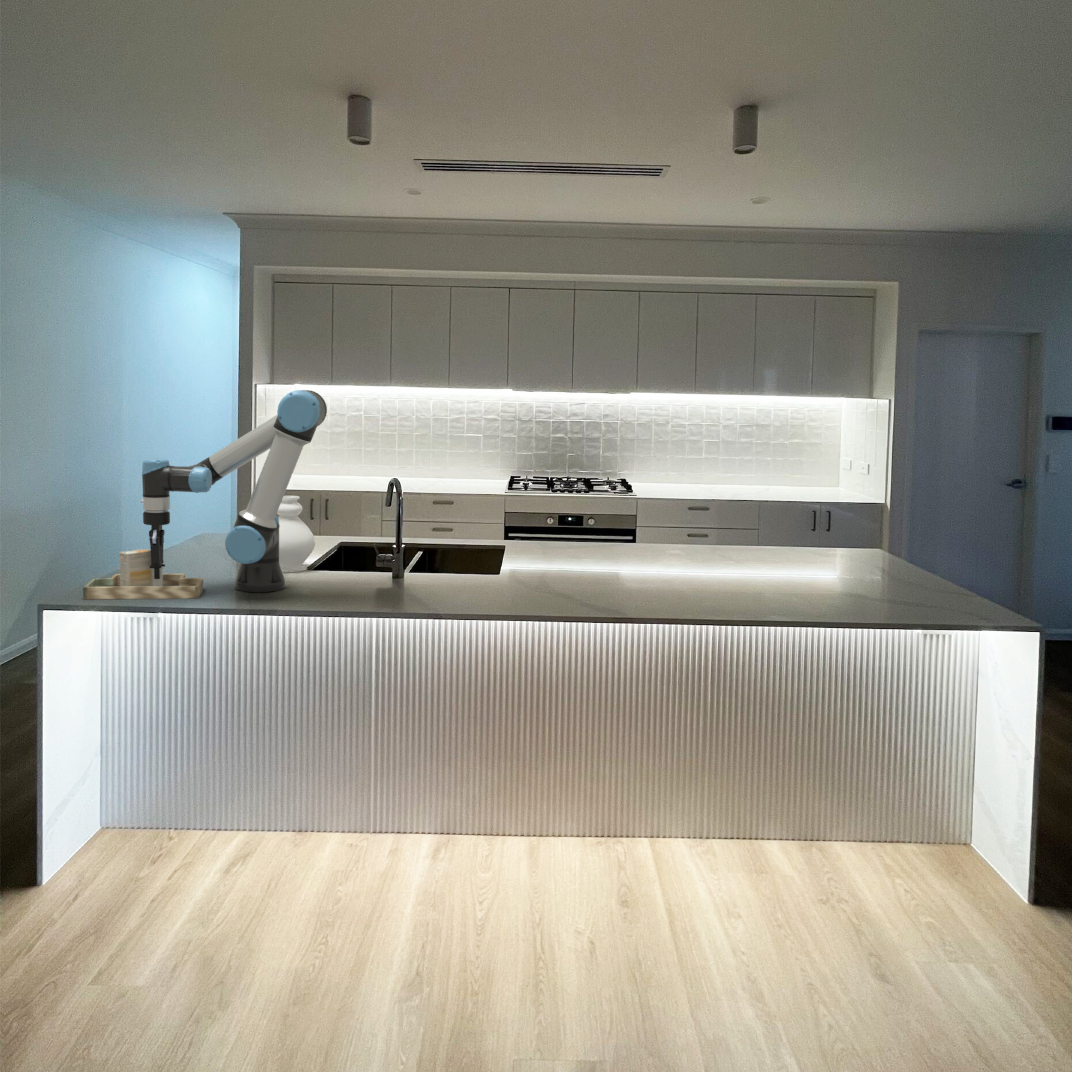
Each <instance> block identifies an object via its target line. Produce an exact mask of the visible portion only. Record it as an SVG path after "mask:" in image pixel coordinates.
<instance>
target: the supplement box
mask: <svg viewBox="0 0 1072 1072" xmlns="http://www.w3.org/2000/svg"><path fill="white" fill-rule="evenodd" d="M118 554H119V555H118V557H119V560H118V561H119V574H120V587H131V586H153V578H152V568H150V566H151V549H147V548H141V549H134V550H133V549H131V550H125V551H119V552H118Z"/></svg>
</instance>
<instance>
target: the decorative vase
mask: <svg viewBox="0 0 1072 1072" xmlns="http://www.w3.org/2000/svg"><path fill="white" fill-rule="evenodd" d="M300 499H301V498H300V496H298V495H284V496H283V499H282V501H281V504H280V506H279V509H278V511H277V514H276V515H278V516H277V517H278V518H279V524H280V527H279V564H280V567H281V570H282V573H300V572H305V571H307V570H308V566H306V565H303V564H304V563H305V562H306V561H307V559H308V558H309V557H310V556H311V554H312V553H313V551H314V550H315V548H316V547H315V546H316V541H315V540H316V539H315V536H314V533H313V532H312V530H311V529H310V527H308V525H307V524H306V523H305V522H304V521H303V520H302V519H301V518H300V517H299V515H300V514H301V513H302V512H303V509H304V508H303V505H301V503H299V502H298V501H299V500H300Z"/></svg>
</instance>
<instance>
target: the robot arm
mask: <svg viewBox="0 0 1072 1072" xmlns="http://www.w3.org/2000/svg"><path fill="white" fill-rule="evenodd" d="M327 413H328V406H327V403H326V401H325V399H324V398H323V396H321V394H320V393H317V392H316V391H314V390H308V389H307V390H306V389H296V390H293V391H290V392H288V393H287V394H286V395H284V396H283V397H282V399H281V400H280V402H279V403H278V406H277V414H276V415H275V416H273V417H271V418H270V419H268V420H266V421H265V422H263V423H262V424H260V425H258V426H257V427H255V428H254V429H252V430H250V431H248V432H247V433H245V434H244V435H242V436H241V437H239V438H237V439H236V440H234V441H232V442H230V443H229V444H228V445H226V446H225V447H223V448H221V449H220V450H217V452H214V453H213V454H211V455H210V456H208V457H206V458H205V459H203V460H202V461H200V462H198V463H196V464H193V465H189V466H177V465H175V466H174V465H171V464H170V460H169V459H166V458H154V457H153V458H146V459H144V460H143V462H142V473H141V480H142V499H141V500H140V503H142V509H143V510H144V511H143V512H142V523H143V524H144V525H147V526H151V527H150V530H148V537H149V546H150V547H149V550H151V566H150V568H152V578H153V586H163V574H164V573H163V568H164V567H166V564H164V563H165V562H164V543H165V532H166V531H165V529H163V526H166V525H169V524H170V523H171V513H170V511H169V510H170V509H171V496H170V492H173V493H174V492H182V493H183V492H184V493H195V494H198V493H207V492H209V491H210V490H211V488H212V486H213V485H215V484H216V483H217V482H218V481H220V480H221V479H223V478H224V477H226V476H228V475H230V474H231V473H232V472H235V471H236V470H237V469H239V468H241V467H242V466H244V465H246V464H247V463H249V462H251V461H252V460H254V459H255V458H258V457H260V455H263V454H264V453H265V452H267V451H268V453H267V456H266V459H265V461H264V463H263V466H262V469H261V472H260V474H259V476H258V478H257V481H256V484H255V486H254V489H253V492H252V493H251V497H250V499H249V502H248V504H247V506H246V508H245V509H243V510H241V511H239V513H238V515H237V517H236V520H235V522H234V525H233V527H232V528H231V529H230V530H229V531H228V533H227V535H226V537H225V539H224V546H225V550H226V552H227V554H228V556H229V557H230V558H231V559H232V560H233V561H235V562H237V563H239V564H240V565H239V569H238V570H237V574H236V578H235V580H234V589H236V590H237V591H241V592H248V593H269V592H276V591H280V590H283V588H284V589H285V588H286V580H285V576H284V572H282V570H281V567H280V564H279V527H280V524H279V518H278V517H279V516H277V515H278V514H277V511H278V509H279V506H280V504H281V501H282V499H283V496H285V493H286V490H287V488H288V485H289V483H290V481H291V478H292V477H293V473H294V471H295V469H296V466H297V463H298V461H299V459H300V456H301V453H302V451H303V449H304V446H306V445H308V444H310V443H311V442H312V440H313V438H314V435H315V432H316V430H317V427H319V426H320V425H322V424H323V423H324V421H325V419H326V417H327Z"/></svg>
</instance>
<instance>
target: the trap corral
mask: <svg viewBox="0 0 1072 1072" xmlns="http://www.w3.org/2000/svg"><path fill="white" fill-rule="evenodd" d="M82 588H83V589H82V593H83V594H82V595H83V600H147V599H148V600H150V599H151V600H152V599H154V600H155V599H157V600H158V599H159V600H160V599H161V600H163V599H166V600H167V599H199V598H200V596H201V594H202V593H203V590H204V577H186V573H163V586H131V587H120V573H118V574H117V573H116V574H115V573H114V574H113V575H112V576H111V577H109V578H107V577H106V578H92V579H91V580H89V581H88V582H87V583H86V584H85V585H84V586H83V587H82Z"/></svg>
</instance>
